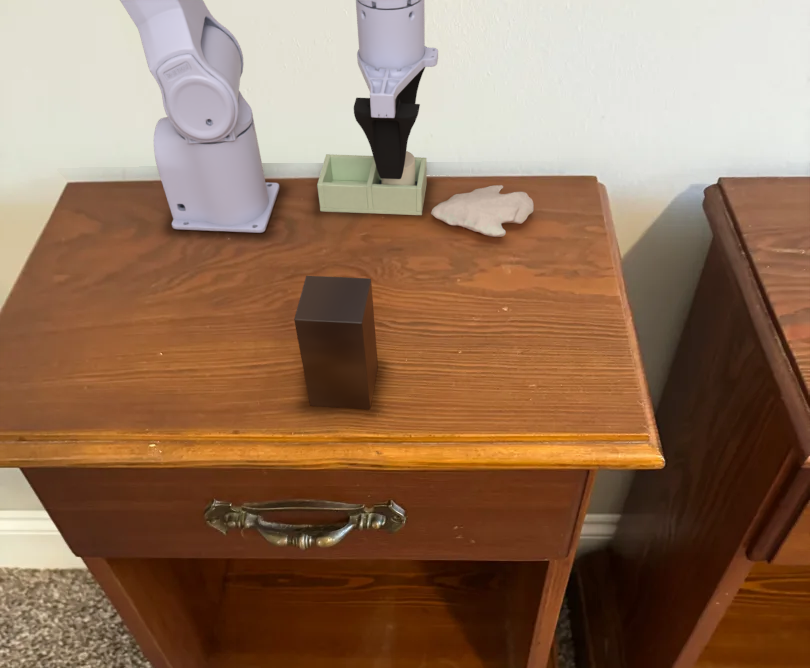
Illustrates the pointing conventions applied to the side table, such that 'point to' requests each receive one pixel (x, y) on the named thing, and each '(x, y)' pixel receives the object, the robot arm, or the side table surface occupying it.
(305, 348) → the stand
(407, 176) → the beige cylinder
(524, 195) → the arrowhead
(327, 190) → the green divided box
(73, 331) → the side table surface
